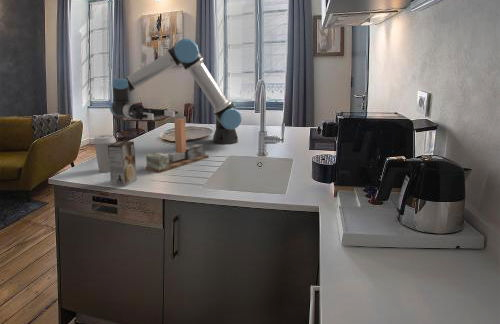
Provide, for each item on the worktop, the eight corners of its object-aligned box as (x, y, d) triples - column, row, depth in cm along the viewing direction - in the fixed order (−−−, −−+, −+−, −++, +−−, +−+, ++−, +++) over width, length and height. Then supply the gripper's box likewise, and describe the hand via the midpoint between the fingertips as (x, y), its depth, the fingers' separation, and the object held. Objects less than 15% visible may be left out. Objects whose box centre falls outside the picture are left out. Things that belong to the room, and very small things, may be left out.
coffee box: (122, 178, 155) (119, 140, 151) (137, 179, 154) (134, 141, 149) (110, 185, 146) (107, 145, 142) (125, 186, 145) (122, 146, 141)
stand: (195, 155, 194) (194, 142, 193) (208, 157, 190) (208, 144, 188) (145, 169, 168) (144, 154, 166) (159, 172, 163) (158, 157, 161)
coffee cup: (108, 166, 172) (105, 133, 168) (123, 169, 167) (120, 136, 163) (90, 171, 164) (87, 137, 160) (105, 174, 159) (102, 140, 155)
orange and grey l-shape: (196, 152, 191) (195, 115, 186) (202, 153, 189) (201, 116, 184) (167, 160, 175) (165, 120, 170) (173, 161, 173) (172, 121, 168)
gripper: (153, 116, 202) (182, 120, 190) (113, 121, 182) (143, 126, 170) (152, 101, 200) (182, 105, 188) (112, 105, 180) (143, 109, 168)
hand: (164, 115), depth 179 cm, fingers open, 13 cm apart
